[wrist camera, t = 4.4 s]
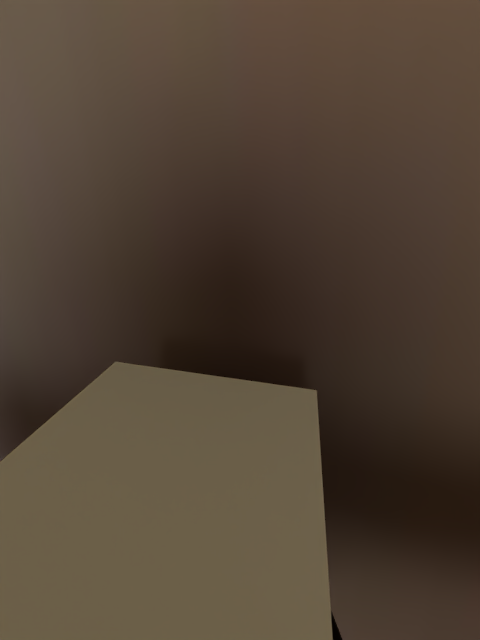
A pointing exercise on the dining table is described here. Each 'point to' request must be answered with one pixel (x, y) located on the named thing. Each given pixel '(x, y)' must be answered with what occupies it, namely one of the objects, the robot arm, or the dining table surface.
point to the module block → (167, 514)
